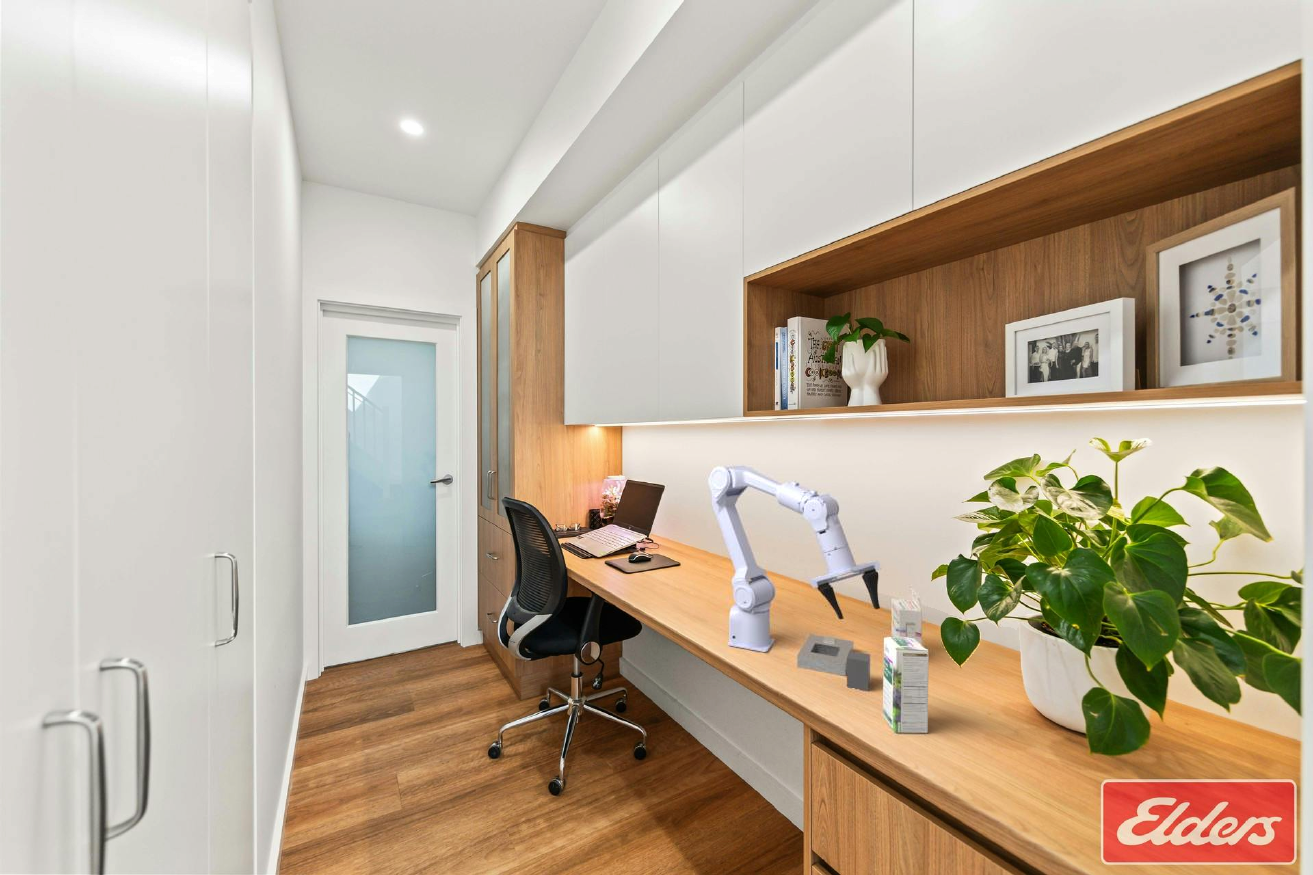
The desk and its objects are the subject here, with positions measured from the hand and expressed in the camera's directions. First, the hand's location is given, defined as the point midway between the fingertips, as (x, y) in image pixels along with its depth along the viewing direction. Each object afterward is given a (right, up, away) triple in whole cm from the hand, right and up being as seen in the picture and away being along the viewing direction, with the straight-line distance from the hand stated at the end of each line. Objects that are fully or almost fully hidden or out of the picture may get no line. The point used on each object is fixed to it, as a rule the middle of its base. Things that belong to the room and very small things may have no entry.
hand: (859, 613), depth 111 cm
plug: (-1, -14, -3) cm, 14 cm away
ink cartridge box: (+16, -14, +13) cm, 24 cm away
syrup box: (+1, -14, -17) cm, 22 cm away
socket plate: (-4, -14, +10) cm, 17 cm away
